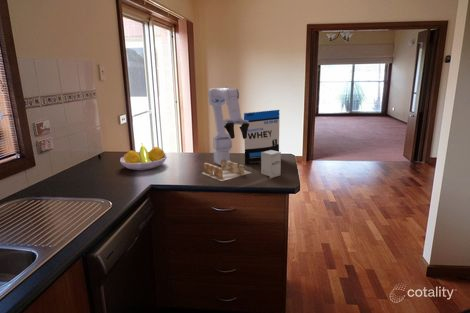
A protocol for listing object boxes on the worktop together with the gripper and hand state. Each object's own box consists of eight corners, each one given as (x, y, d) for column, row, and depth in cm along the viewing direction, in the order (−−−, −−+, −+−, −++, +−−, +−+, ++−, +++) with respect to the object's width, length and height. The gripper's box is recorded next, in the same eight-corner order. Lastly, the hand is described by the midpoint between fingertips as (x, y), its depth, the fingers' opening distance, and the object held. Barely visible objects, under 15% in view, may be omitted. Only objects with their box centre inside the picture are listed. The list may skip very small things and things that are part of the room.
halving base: (201, 174, 178) (200, 164, 177) (230, 167, 190) (230, 157, 189) (221, 183, 164) (221, 171, 163) (252, 174, 176) (251, 163, 175)
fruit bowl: (162, 173, 183) (161, 153, 180) (113, 174, 184) (111, 154, 181) (172, 159, 210) (171, 142, 207) (130, 160, 211) (128, 143, 208)
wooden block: (204, 172, 179) (204, 163, 178) (207, 171, 180) (206, 162, 179) (220, 178, 169) (219, 168, 167) (222, 177, 169) (222, 168, 168)
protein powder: (240, 163, 199) (239, 112, 191) (274, 157, 210) (274, 109, 202) (249, 166, 190) (248, 114, 183) (283, 160, 202) (284, 110, 194)
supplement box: (271, 178, 169) (271, 154, 166) (260, 175, 175) (260, 151, 171) (281, 175, 174) (281, 151, 170) (270, 172, 179) (270, 149, 176)
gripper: (227, 108, 159) (232, 135, 156) (250, 110, 168) (255, 136, 165) (219, 113, 164) (223, 140, 162) (242, 114, 173) (246, 140, 171)
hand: (239, 138), depth 164 cm, fingers open, 7 cm apart
